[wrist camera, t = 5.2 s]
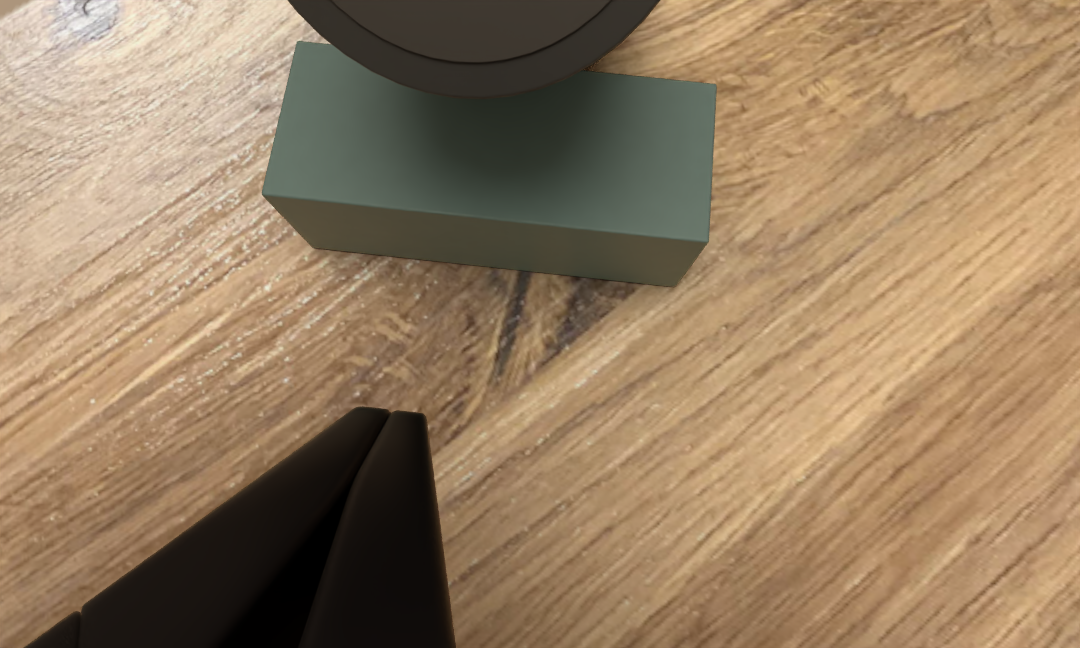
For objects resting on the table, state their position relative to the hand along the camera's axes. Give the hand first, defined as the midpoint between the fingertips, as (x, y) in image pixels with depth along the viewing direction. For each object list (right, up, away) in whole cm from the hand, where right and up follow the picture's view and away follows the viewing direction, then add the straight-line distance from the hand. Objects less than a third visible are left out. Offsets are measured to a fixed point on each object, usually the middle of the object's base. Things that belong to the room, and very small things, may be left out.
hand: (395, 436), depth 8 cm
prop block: (+1, +5, +10) cm, 11 cm away
